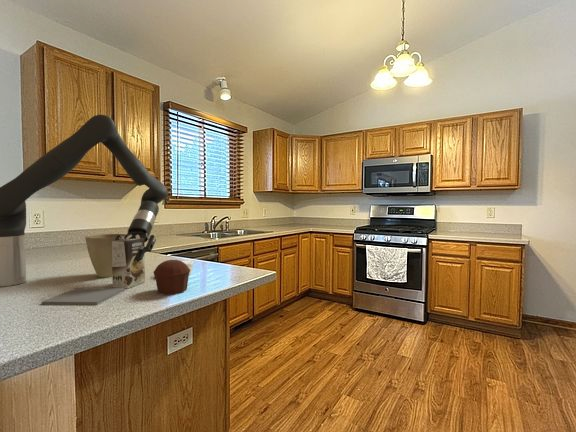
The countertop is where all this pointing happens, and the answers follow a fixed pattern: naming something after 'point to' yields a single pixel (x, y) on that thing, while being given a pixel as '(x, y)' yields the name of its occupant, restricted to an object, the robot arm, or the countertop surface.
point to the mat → (83, 296)
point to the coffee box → (127, 263)
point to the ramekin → (188, 264)
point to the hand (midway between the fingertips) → (126, 260)
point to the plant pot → (101, 252)
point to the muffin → (171, 277)
